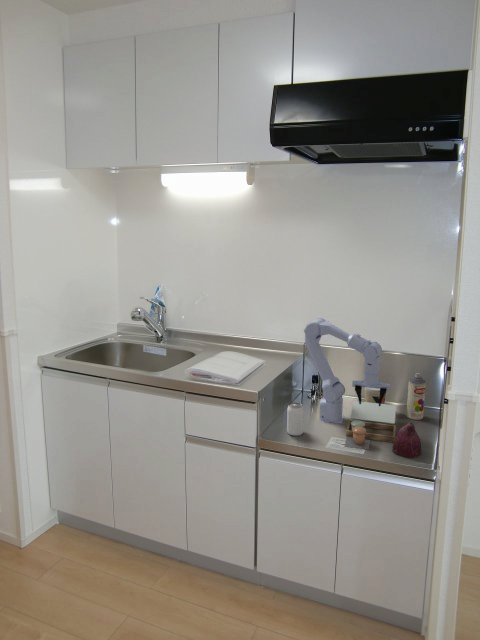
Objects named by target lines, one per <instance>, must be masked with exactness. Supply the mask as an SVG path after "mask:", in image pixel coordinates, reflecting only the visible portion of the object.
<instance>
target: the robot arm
mask: <svg viewBox="0 0 480 640" xmlns="http://www.w3.org/2000/svg"><path fill="white" fill-rule="evenodd" d="M303 333H304V334H305V335H304V340H305V341H304V344H305V346H306V348H307V351H308V352H309V355H310V358H312V361H313V364H314V365H315V367H316V370H317V372H318V374H319V377H320V378H321V381H322V385H321V389H322V391H323V392H322V393H323V394H322V395H323V398H320V402H319V422H326V423H334V424H342V423H343V421H344V417H345V416H344V415H343V408H344V407H343V404H344V403H343V401H344V399H343V395H345V393H346V388H345V385H344V384H343V383H342V382H341V380H340V379H339V378H338V377H336V376H335V375H334V373H333V372H334V371H332V368H331V366H330V364H329V362H328V359H327V357H326V355H325V353H324V351H323V348H322V346H321V345H320V341H321V338H322V336H326V335H330V336H332V337H334V338H336V339H338V340H341V341H343V342H345V343H346V344H347V346H348V347H349V348H351V349H353V350H355V351H356V352H358V353H360V354H362V356H363V357H364V365H363V366H364V370H363V371H364V372H363V380H352V384H351V385H352V387H354V391H355V393H356V396H357V399H358V401H359V404H361V402H363V401H362V389H363V388H364V387H368V388H378V389H380V399H379V406H381V402H382V399H383V397H384V395H385V394H386V393H387V391H390V387H391V386H390V385H391V384H390V383H385V382H381V381H379V376H380V375H379V374H380V355H381V353H383V352H382V351H383V349H382V346H381V344H380V343H378V342H377V341H372V340H370V339H369V340H368V339H366V338H364V337H362V335H361V334H359V333H353V334H350V333H348V332H347V331H344V330H343V329H342V328H339V327H338V326H336V325H335V324H332V322H331V321H330V320H326V319H324V318H322V317H319V318H316V319H315V320H313V321H310V322H308V323H307V324H306V325H305V328H304V329H303ZM385 396H386V395H385Z"/></svg>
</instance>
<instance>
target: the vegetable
mask: <svg viewBox="0 0 480 640" xmlns="http://www.w3.org/2000/svg"><path fill="white" fill-rule="evenodd" d="M392 443H393V445H392V453H393V454H395V456H399V457H402V458H407V459H414V458H418V457H420V456H421V454H422V442H421V439H420V437H419V435H418V433H417V431H416V428H415V424H414V423H413V422H411V421H410V422H408V423H406V424H405V425H403V426H402V427H401V428H400V429H398V431H397V432H396V434H395V440H394V442H392Z"/></svg>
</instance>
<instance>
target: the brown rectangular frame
mask: <svg viewBox="0 0 480 640" xmlns="http://www.w3.org/2000/svg"><path fill="white" fill-rule="evenodd" d="M352 421H357V420H356V419H349V420H348V422H347V426H346V429H345V436H346V437H351V438H353V432H352V425H351V422H352ZM361 421H362V422H364V423H365V426H364V428H365V429H366V433H365V439H366V440H374V441H380V442H381V441H382V442H388V443H389V442H390V443H394V440H395V437H396V434H397V432H396V429H397V425H395V424H390V423H381V422H373V421H365V420H361Z"/></svg>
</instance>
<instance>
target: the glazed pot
mask: <svg viewBox="0 0 480 640" xmlns="http://www.w3.org/2000/svg"><path fill="white" fill-rule="evenodd" d="M362 421H363V420H356V421H352V422H351V425H352V428H353V427H357V426H359V427H364V426H365V423H364V422H365V421H364V422H362Z"/></svg>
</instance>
